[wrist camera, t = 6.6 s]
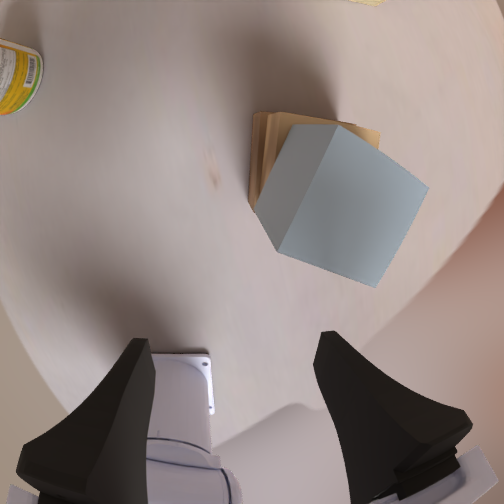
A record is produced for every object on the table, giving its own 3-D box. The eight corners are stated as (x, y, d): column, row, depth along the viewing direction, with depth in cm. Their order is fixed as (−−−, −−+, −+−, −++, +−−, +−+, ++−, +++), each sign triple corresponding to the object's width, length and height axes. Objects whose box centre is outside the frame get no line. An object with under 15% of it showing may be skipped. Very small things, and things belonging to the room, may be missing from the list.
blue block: (329, 240, 15) (375, 288, 11) (253, 209, 14) (276, 252, 9) (366, 165, 14) (429, 187, 9) (292, 124, 12) (338, 124, 8)
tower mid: (341, 214, 18) (363, 229, 15) (257, 207, 17) (267, 223, 14) (354, 130, 16) (380, 132, 13) (267, 115, 15) (280, 111, 12)
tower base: (328, 204, 21) (345, 216, 18) (247, 200, 20) (253, 212, 17) (336, 124, 18) (356, 124, 16) (252, 114, 17) (260, 111, 15)
